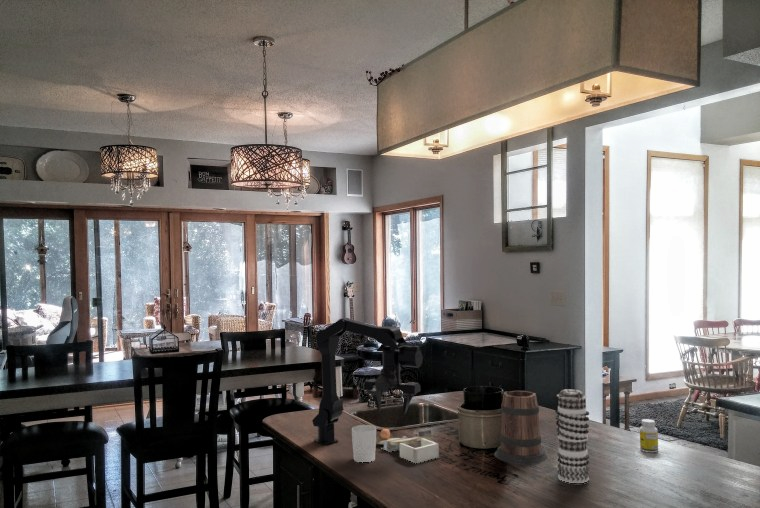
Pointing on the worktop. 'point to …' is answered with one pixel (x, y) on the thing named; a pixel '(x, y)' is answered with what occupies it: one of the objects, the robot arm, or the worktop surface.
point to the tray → (420, 451)
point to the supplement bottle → (648, 436)
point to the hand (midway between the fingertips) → (391, 412)
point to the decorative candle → (572, 436)
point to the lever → (397, 441)
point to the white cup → (364, 443)
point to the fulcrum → (391, 446)
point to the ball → (385, 434)
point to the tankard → (520, 429)
